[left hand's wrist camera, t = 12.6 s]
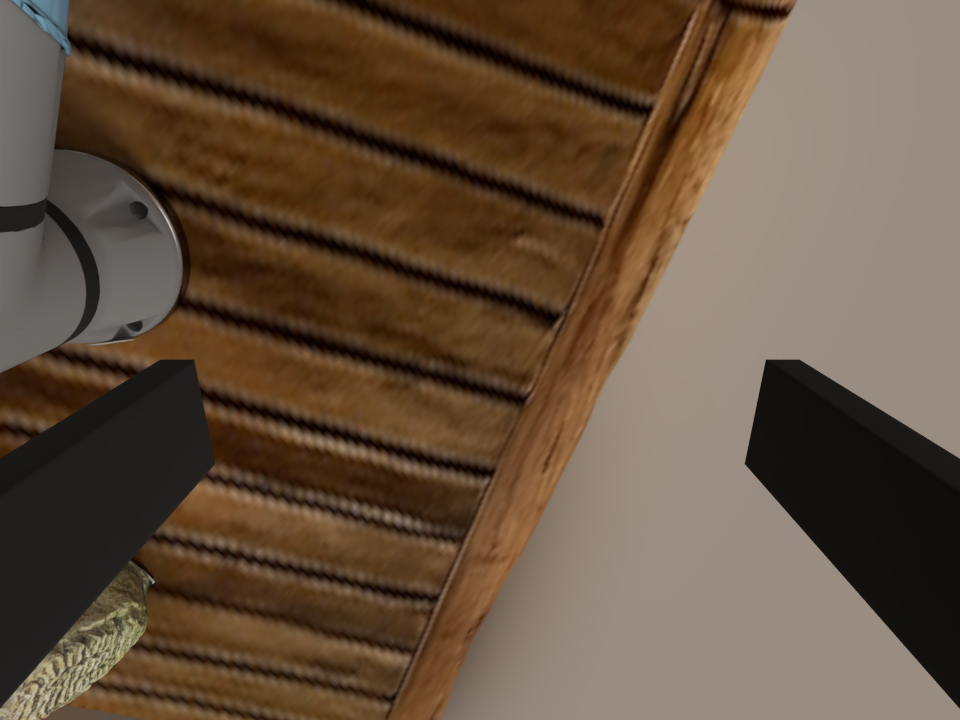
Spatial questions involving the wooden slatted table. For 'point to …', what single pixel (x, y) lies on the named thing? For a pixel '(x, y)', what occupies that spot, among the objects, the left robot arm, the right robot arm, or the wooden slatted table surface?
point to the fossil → (85, 648)
